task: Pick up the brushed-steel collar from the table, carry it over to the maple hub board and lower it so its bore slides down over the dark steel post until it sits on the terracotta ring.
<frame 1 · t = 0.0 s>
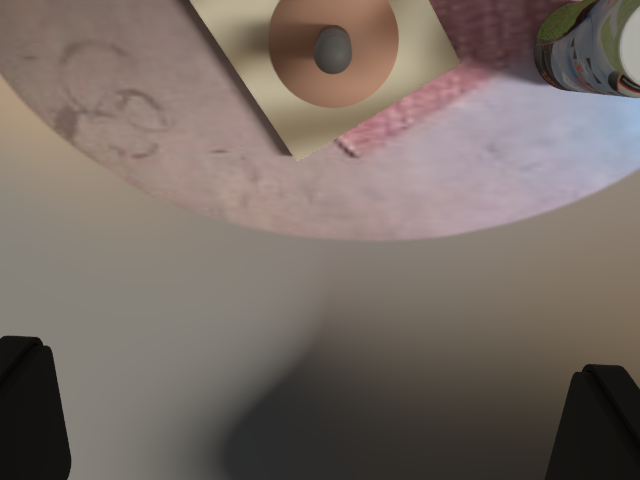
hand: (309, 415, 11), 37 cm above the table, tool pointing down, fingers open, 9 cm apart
beverage can: (574, 35, 43), on the table
hub board: (319, 15, 43), on the table
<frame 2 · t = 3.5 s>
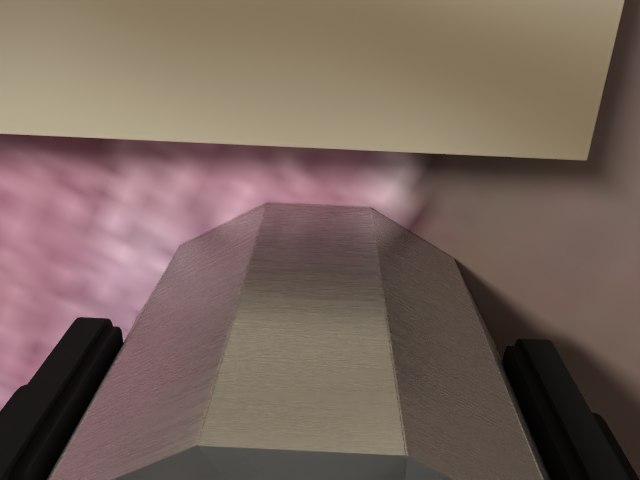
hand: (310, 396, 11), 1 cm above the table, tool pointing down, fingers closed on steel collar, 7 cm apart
steel collar: (312, 364, 12), on the table, touching gripper
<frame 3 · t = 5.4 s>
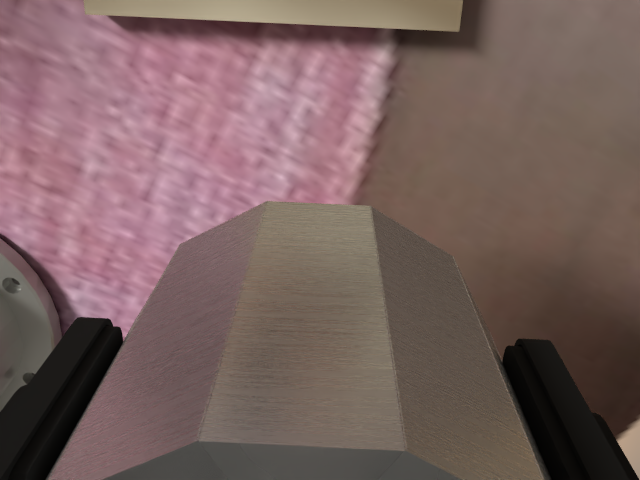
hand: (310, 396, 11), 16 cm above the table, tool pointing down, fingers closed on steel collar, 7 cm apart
steel collar: (312, 362, 12), point 15 cm above the table, touching gripper
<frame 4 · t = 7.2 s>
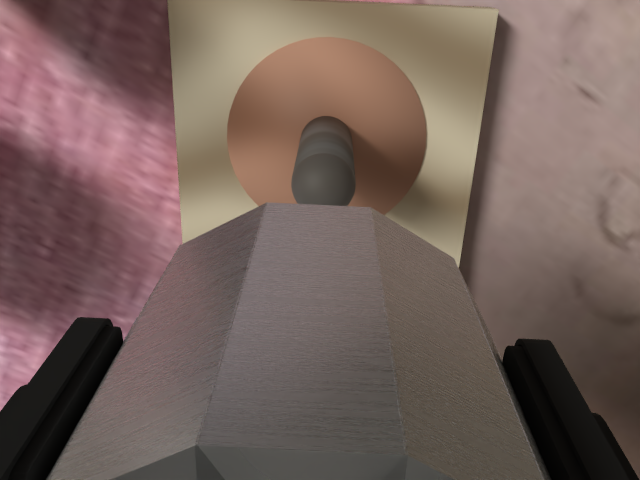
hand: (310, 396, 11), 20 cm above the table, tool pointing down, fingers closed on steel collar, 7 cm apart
hub board: (325, 172, 30), on the table
steel collar: (312, 364, 12), point 18 cm above the table, touching gripper
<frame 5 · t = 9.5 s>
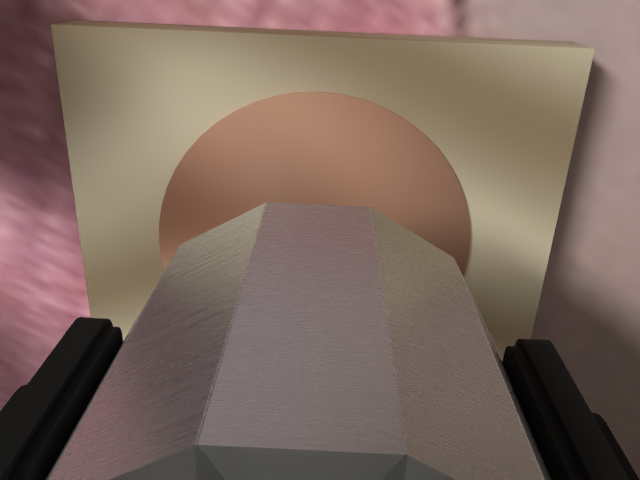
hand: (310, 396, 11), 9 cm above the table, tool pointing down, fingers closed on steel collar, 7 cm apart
hub board: (313, 283, 20), on the table
steel collar: (312, 363, 12), point 8 cm above the table, touching gripper
when the fingers open (4 cm above the table, at t = 11.2 s): steel collar drops 2 cm, resting on hub board.
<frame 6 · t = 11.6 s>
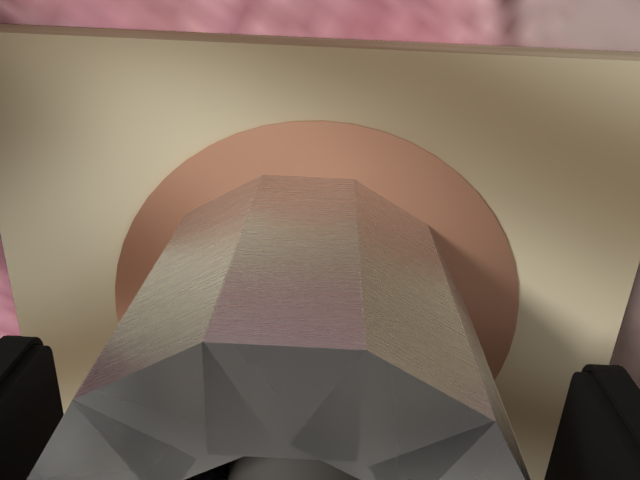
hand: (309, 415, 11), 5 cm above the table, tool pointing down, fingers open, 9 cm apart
hub board: (314, 351, 16), on the table
steel collar: (303, 321, 14), point 2 cm above the table, touching hub board
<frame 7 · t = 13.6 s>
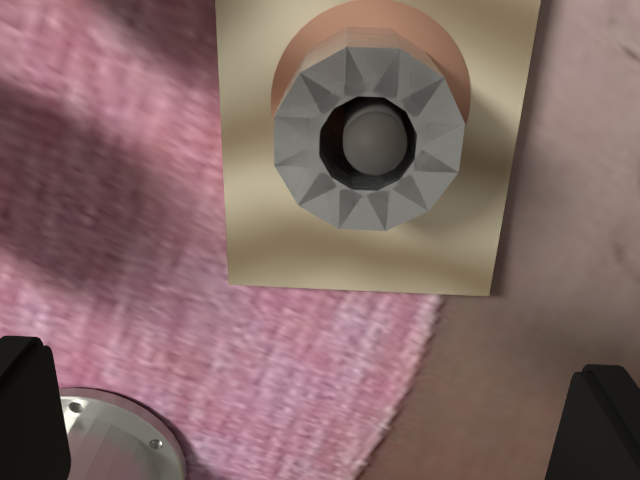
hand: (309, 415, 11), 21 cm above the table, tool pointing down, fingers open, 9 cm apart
hub board: (366, 137, 30), on the table
steel collar: (363, 106, 28), point 2 cm above the table, touching hub board
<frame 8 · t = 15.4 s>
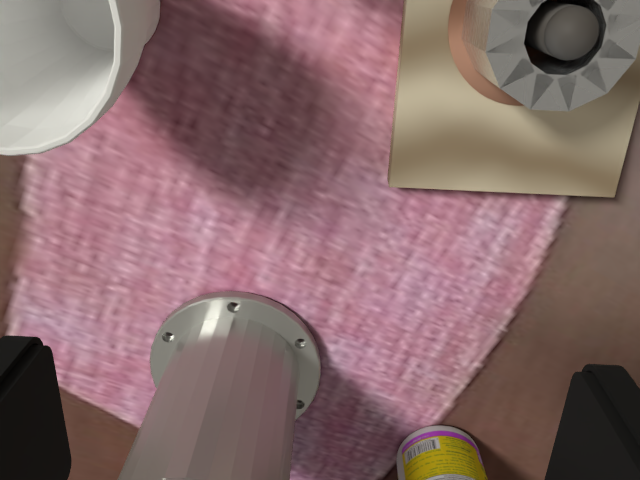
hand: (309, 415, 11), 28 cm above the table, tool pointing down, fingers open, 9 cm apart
supplement bottle: (436, 450, 48), on the table
hub board: (517, 55, 35), on the table
steel collar: (527, 23, 33), point 2 cm above the table, touching hub board
cup: (110, 1, 35), on the table
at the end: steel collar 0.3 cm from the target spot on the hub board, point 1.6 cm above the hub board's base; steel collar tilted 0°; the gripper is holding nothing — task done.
